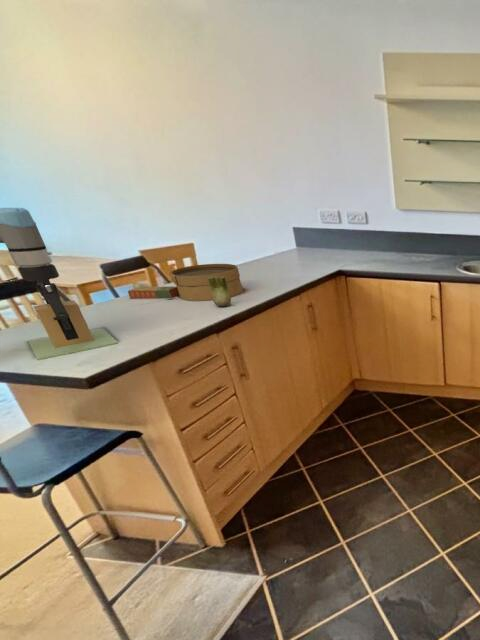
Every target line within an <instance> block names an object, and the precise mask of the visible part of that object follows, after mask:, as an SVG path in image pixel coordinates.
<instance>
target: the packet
mask: <svg viewBox="0 0 480 640" xmlns="http://www.w3.org/2000/svg"><path fill="white" fill-rule="evenodd" d="M61 302H62V304H63V306H64V308H65V309H66V311H67V313H68V314H69V318H70V320H71V322H72V324H73V326H74V328H75V330H76V332H77V335H78V337H79V338H77V339H72V340H67V339H66V337H65V335H64V333H63V331H62V329H61V327H60V325H59V323H58V321H57V320H54V319H53V317H56V315H55V314H54V312H53V310H52V308H51V306H50V304H47V303H44V304H38V305H33V306H32V307H33V309H34V311H35V313H36V315H37V317H38V319H39V321H40V323H41V324H42V326H43V328H44V331H45V333H46V335H47V336H48V338H50V340H51V342H52V344H53V345H54V347H55V348H57V347H62V346H68V345H73V344H78V343H83V342H88V341H93V340H94V339H93V337H92V334H91V332H90V331H91V330H90V328H89V326H88V324H87V322H86V319H85V317H84V315H83V312H82V311H81V308H80V306H79V304H78V303H77V302H76V301H75V300H74V299H73V300H67V301H61Z"/></svg>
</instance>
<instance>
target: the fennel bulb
mask: <svg viewBox="0 0 480 640" xmlns="http://www.w3.org/2000/svg"><path fill="white" fill-rule="evenodd" d="M221 279H222V283H221V280H220V277H217V278H216V280H217V282H216V280H215V277H212V278H208V281H209V283H210V286H211V290H212V297H213V300H212V301H213V303H214V305H215V306H217V307H229V306H230V305H231V303H232V299H231V298H232V297H230V293H229V290H228V287H227V284H226V280H225V278H221ZM212 280H213V281H212ZM217 283H218V285H217ZM222 284H223V286H222ZM218 286H219V287H218Z"/></svg>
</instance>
